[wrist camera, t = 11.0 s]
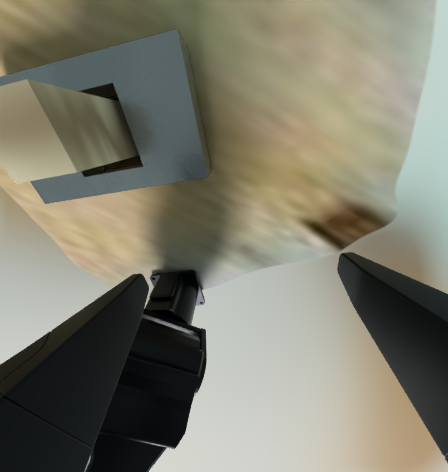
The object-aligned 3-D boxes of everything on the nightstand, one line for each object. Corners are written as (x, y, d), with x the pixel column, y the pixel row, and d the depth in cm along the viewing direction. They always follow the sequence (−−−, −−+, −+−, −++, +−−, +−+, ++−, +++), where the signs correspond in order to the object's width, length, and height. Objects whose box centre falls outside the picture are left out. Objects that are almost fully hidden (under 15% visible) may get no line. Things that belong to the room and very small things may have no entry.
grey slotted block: (211, 170, 18) (207, 177, 16) (69, 194, 20) (45, 203, 18) (187, 47, 14) (177, 28, 11) (9, 93, 16) (-35, 86, 13)
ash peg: (145, 153, 18) (77, 172, 10) (108, 160, 18) (15, 183, 11) (128, 103, 16) (26, 79, 8) (86, 113, 16) (-47, 98, 9)
